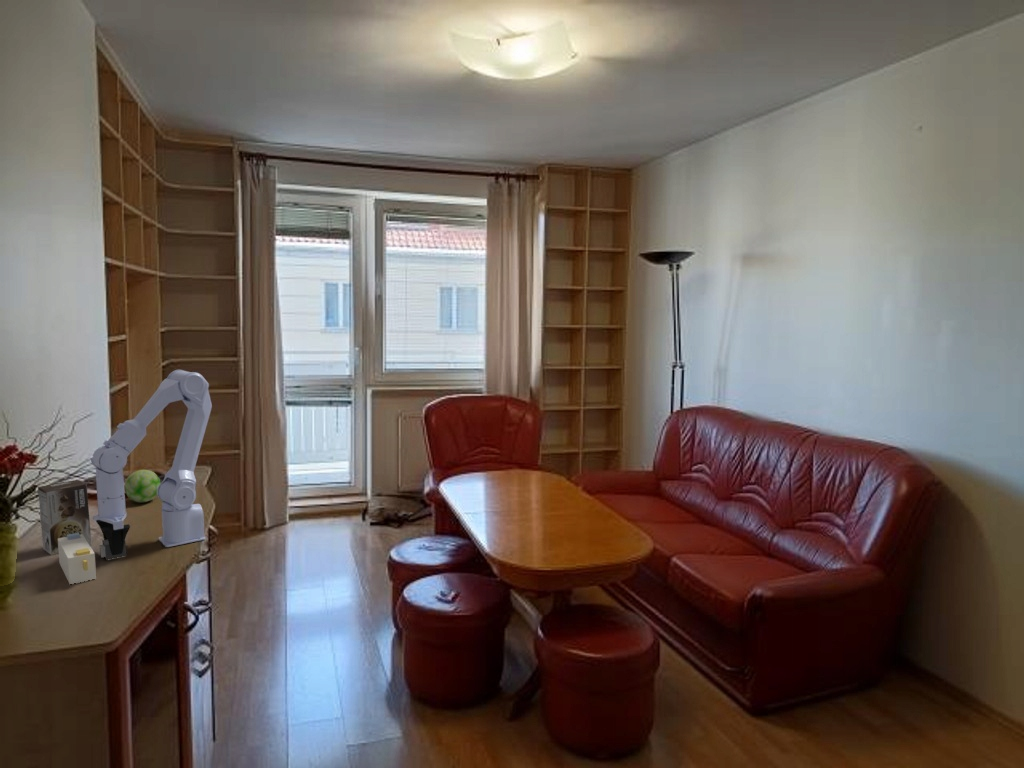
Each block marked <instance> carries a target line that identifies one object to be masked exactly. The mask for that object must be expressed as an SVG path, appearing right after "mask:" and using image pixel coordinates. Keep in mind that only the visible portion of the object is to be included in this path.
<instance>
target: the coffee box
mask: <svg viewBox="0 0 1024 768" xmlns="http://www.w3.org/2000/svg"><path fill="white" fill-rule="evenodd" d="M87 485H88V484H87V483H85V482H83V481H81V480H80V479H74V480H68V481H62V482H57V483H52V484H47V485H42V486H38V487H37V490H38V491H37V492H38V502H39V517H40V525H41V526H40V527H41V538H42V550H44V551H45V552H47V553H48V554H49V555H52V556H54V555H59V550H58V538H64V537H67V535H69V534H74V533H79V534H83V536H84V537H85V539H86V541H87V542H88V544H89V545H90V546H92V544H93V543H92V531H91V521H90V511H89V510H90V509H89V508H90V507H89V499H88V497H89V496H88V486H87Z"/></svg>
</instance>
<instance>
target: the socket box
mask: <svg viewBox="0 0 1024 768" xmlns="http://www.w3.org/2000/svg"><path fill="white" fill-rule="evenodd" d="M58 550H59V553H58V561H59V562H58V563H59V565H60V567H61V569H62V571H63V573H64V575H65V578H66V580H67V581H68V584H69V585H70V584H72V585H75V584H74V583H76V584H80V582H81V583H84V581H85V582H89V581H88V580H90V581H93V580H92V579H95V580H97V572H96V571H97V570H96V555H95V551H94V550H93V548H92V547H91V545H89V544H88V542H87V541H86V539H85V537H84V536H83V534H79V533H74V534H69V535H67V537H64V538H58Z"/></svg>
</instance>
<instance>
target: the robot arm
mask: <svg viewBox="0 0 1024 768" xmlns="http://www.w3.org/2000/svg"><path fill="white" fill-rule="evenodd" d="M209 387H210V383H209V382H208V381H207V380H206V379H205V377H204V376H203V375H202V374H201V373H199V372H194V371H192V372H190V371H188V370H183V369H176V370H173V371H172V372H170V373H169V374H168V375H167V378H165V379H163V380H162V382H160V384H159V386H158V387H157V389H156V390H155V392H154V393H153V394H152V396H150V398H149V400H148V401H147V402H146V403H145V404H144V405H143V407H142V408H141V409H140V411H139V412H138V413H137V415H135V417H134V418H132V419H129V420H125V421H123V423H121V422H120V423H118V425H117V426H116V428H117V430H116V431H115V432H114V433H113V434H112V435H111V437H110V438H109V439H108V440H104V442H103V446H101V447H98V448H97V449H95V450H94V452H93V454H92V457H91V458H90V462H91V464H92V466H93V467H95V476H96V477H95V482H96V498H97V511H98V512H97V513H98V514H96V515H93V516H92V520H93V521H95V522H96V523H97V525H98V526H99V528H100V531H101V533H102V537H103V540H107V539H108V542H109V547H110V551H111V553H112V555H118V554H122V552H123V548H124V542H125V543H126V538H127V535H128V532H129V531H130V528H131V525H130V524H128V523H127V524H124V520H125V519H126V517H127V516H128V514H127V513H128V512H127V510H126V509H127V508H126V495H125V494H126V492H125V480H124V479H125V478H124V477H125V476H124V468H125V467H126V465H127V462H128V456H129V455H131V453H132V452H133V451H134V450H135V448H136V447H138V445H139V444H140V443H141V442H142V440H143V439H144V438H145V437H146V436H147V427H148V426H149V425H150V424H151V422H153V421H154V419H156V417H157V416H158V415H159V414H160V413H161V412H162V411H163V410H164V409H165V408H166V407H167V406H168V405H169V404H170V403H174V402H178V401H182V402H183V403H184V405H185V406H186V407H187V413H186V416H185V419H184V423H183V426H182V430H181V433H180V436H179V440H178V443H177V447H176V451H175V455H174V458H173V461H172V465H171V468H170V469H169V470H168V471H167V472H166V473H165V475H164V478H163V480H162V481H160V483H161V484H160V485H159V486H158V489H157V498H158V499H159V500H160V501H161V508H160V509H161V525H162V536H159V537H158V538H157V539H158V540H159V541H160V543H161V544H162V545H163V546H164V547H165V548H170V547H174V546H175V547H176V546H180V545H184V544H190V543H193V542H194V543H195V542H199V541H205V540H206V537H205V521H204V518H205V515H204V509H203V508H202V505H201V504H200V503H194V502H195V500H196V499H197V493H196V484H197V479H196V476H195V473H194V472H195V469H196V465H197V461H198V458H199V454H200V450H201V448H202V445H203V444H202V443H203V440H204V436H205V433H206V429H207V426H208V422H209V419H210V415H211V413H212V412H211V411H212V408H213V405H212V400H211V395H210V392H209Z"/></svg>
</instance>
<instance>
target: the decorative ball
mask: <svg viewBox="0 0 1024 768" xmlns="http://www.w3.org/2000/svg"><path fill="white" fill-rule="evenodd" d="M160 484H161V479H160V477H158V475H157V474H156V473H155V472H154V471H151V470H148V469H139V470H136V471H135V470H134V471H133V472H132V473H130V475H128V476H127V478H126V479H125V480H124V492H125V494H126V496H127V497H128V499H130V500H131V501H134V502H135V503H139V504H140V503H147V502H150V501H152V500H153V499H155V498H156V497H158V495H157V489H158V486H159V485H160Z"/></svg>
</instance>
